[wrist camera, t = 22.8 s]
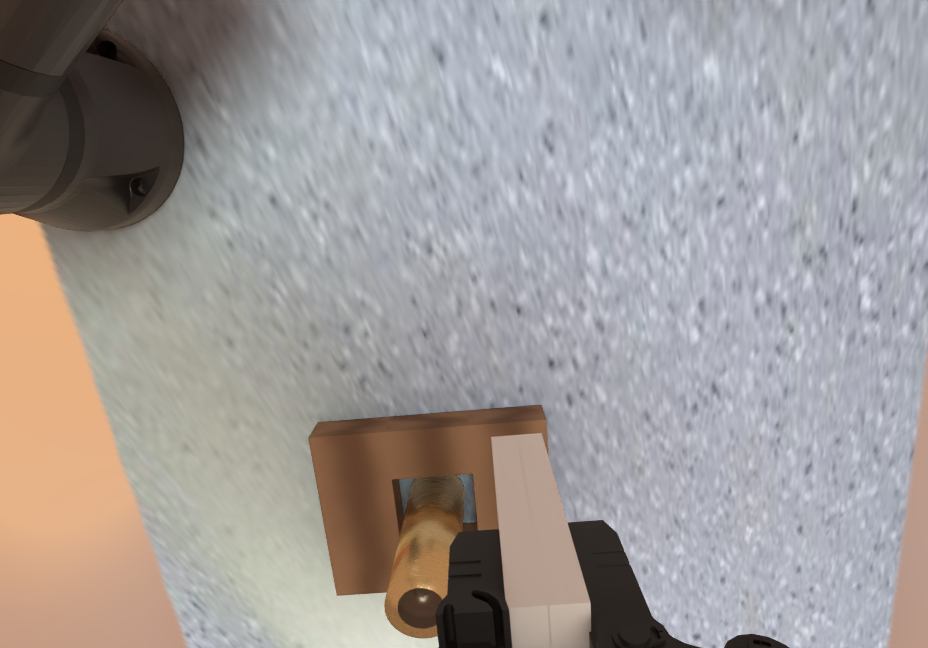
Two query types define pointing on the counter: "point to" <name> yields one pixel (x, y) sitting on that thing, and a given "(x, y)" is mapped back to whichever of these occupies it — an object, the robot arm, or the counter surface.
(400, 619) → the brass bushing
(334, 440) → the walnut jig plate
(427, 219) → the counter surface
